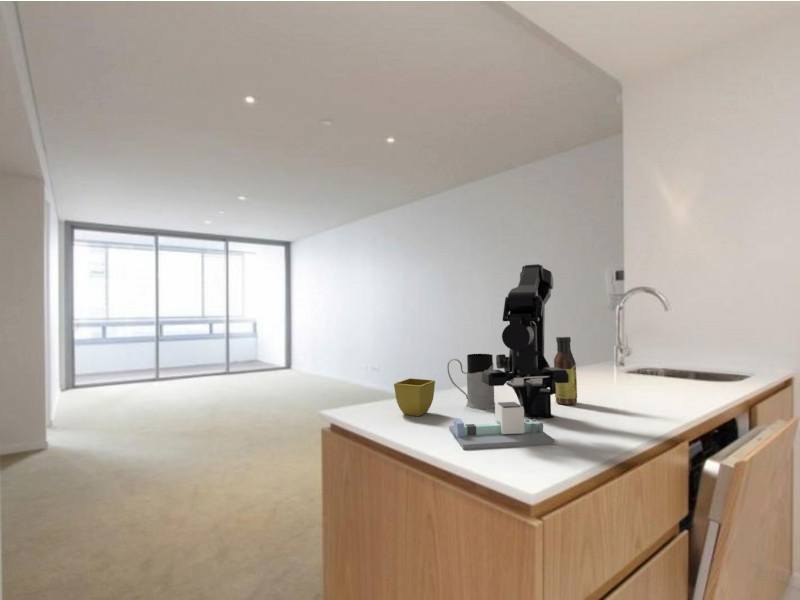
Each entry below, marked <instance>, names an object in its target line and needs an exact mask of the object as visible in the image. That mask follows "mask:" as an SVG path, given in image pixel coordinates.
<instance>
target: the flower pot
mask: <svg viewBox="0 0 800 600" xmlns="http://www.w3.org/2000/svg"><path fill="white" fill-rule="evenodd" d="M435 386H436V380H435V379H425V378H424V379H421V378H414V377H411V378H406V379H404V380H401V381H397V382H394V383H393V388H394V393H395V399H396V403H397V405H398V408H399V410H400V411H401V412H402V413H403V415H409V416H415V417H419V416H422V415H424V414H427V413H428V412H429V409H430V408H431V406H432V403H433V400H434V395H435Z"/></svg>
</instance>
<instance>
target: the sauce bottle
mask: <svg viewBox="0 0 800 600" xmlns="http://www.w3.org/2000/svg"><path fill="white" fill-rule="evenodd" d="M555 338H556V339H555V340H556V343H557V344H556V345H557V346H556V347H557V348H556V351H557V352H556V354H555V356H554V358H553V367H558V368H561V369H564V370H566V371H567V372H568V374H569V383H556V382H555V383H556V394H554V398H555V402H556V403H557V404H558V405H566V406H567V405H569V406H570V405H576V404H577V403H578V387H577V386H578V385H577V384H578V383H577V382H578V381H577V380H578V379H577V366H576V365H577V364H576V363H577V362H576V360H575V358H574V355H573V353H572V349H571V341H572V340H571V336H556V337H555Z"/></svg>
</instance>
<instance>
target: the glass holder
mask: <svg viewBox="0 0 800 600" xmlns="http://www.w3.org/2000/svg"><path fill="white" fill-rule="evenodd" d="M493 358H494V357H493V354H490V353H471V354H467V356H466V361H467V366H466V367H467V371H466V372H465V371H463V370H464V369H463V363H462V362H461V361H460V360H459V359H458V358H452V359H449V361H448V363H447V373H448V377H449V379H450V381H451V383H452V384H453V386H455V387H456V388H457V389H458V390H459V391H461V392H462V394H464V396H466V397H465V398H466V401H467V402H466V404H465V405H466V407H467V408H470V409H476V410H487V409H488V410H489V409H493V408H494V409H495V403H496V402H495V386H489V385H487V384H485V383H483V382H482V373H483V372H484V370H495V369H494V362H493V361H494V359H493ZM453 361H457V362H458V364H459V365H460V371H461V373H462V374H465V375H466V385H467V387H466V389H467V392H465V391H464V390H463V389H462V388H460V387H459V386H458V385H457V383H455V382H454V380H453V378H452V376H451V373H450V368H449V367H450V364H451V362H453Z"/></svg>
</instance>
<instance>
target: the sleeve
mask: <svg viewBox="0 0 800 600" xmlns="http://www.w3.org/2000/svg"><path fill="white" fill-rule="evenodd" d="M494 418H495V419H494V421H495V422H494V424H495V423H501V433H502V434H517V433H524V422H525V414H524V407H522V406H521V405H520V403H517V402H515V401H505V402H504V401H502V402H501V401H500V402H499V401H498V402H497V403H496V402H495V407H494Z"/></svg>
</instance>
